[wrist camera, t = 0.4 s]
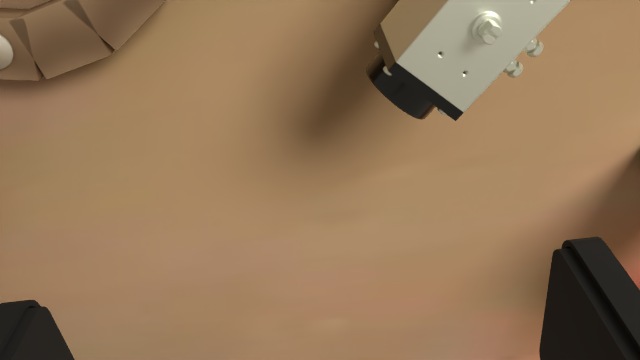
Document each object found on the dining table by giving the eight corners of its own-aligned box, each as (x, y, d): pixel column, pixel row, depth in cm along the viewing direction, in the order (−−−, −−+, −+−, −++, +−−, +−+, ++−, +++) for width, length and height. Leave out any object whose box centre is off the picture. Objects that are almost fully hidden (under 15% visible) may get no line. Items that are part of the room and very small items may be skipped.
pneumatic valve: (351, 26, 38) (372, 103, 28) (476, -135, 33) (557, -115, 23) (413, 72, 40) (453, 159, 29) (540, -74, 35) (641, -30, 25)
